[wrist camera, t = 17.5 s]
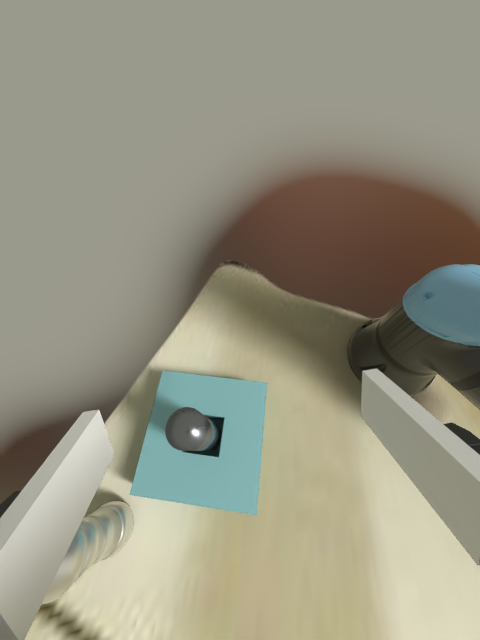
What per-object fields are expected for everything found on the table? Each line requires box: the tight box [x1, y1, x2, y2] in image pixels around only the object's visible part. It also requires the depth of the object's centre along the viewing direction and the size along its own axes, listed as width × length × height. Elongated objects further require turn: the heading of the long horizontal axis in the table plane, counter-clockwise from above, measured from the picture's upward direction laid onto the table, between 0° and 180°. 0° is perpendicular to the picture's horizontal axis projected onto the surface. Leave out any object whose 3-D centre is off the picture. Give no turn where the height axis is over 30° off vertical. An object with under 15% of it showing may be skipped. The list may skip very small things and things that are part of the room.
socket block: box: [130, 371, 267, 515], centre depth 43 cm, size 18×18×6 cm
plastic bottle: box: [42, 501, 134, 604], centre depth 31 cm, size 6×7×20 cm
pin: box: [165, 407, 221, 451], centre depth 36 cm, size 4×4×18 cm
